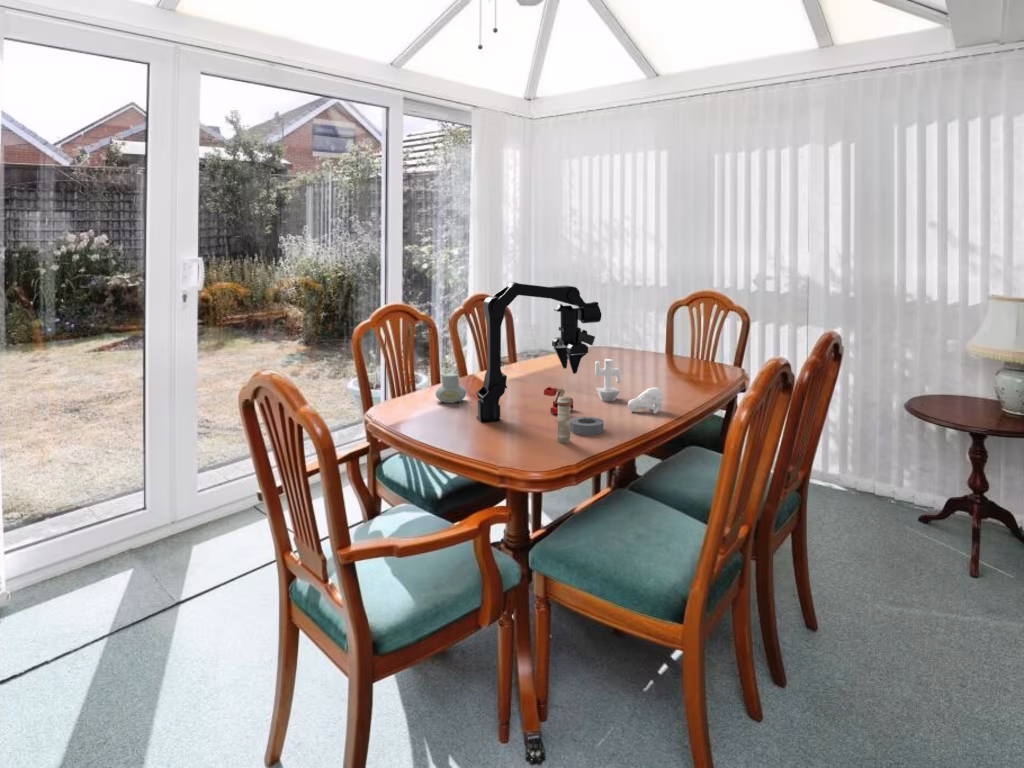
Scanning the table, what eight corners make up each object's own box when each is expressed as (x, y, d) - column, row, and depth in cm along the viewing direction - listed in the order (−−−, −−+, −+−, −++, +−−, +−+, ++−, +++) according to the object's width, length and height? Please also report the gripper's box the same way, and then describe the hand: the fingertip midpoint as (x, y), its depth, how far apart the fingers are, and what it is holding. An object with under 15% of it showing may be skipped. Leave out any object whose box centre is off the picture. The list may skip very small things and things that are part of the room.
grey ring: (578, 436, 191) (578, 426, 191) (565, 427, 200) (565, 418, 200) (608, 433, 194) (609, 423, 194) (594, 424, 204) (594, 415, 203)
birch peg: (560, 444, 184) (560, 400, 181) (554, 440, 188) (555, 396, 185) (572, 442, 185) (573, 398, 183) (567, 438, 189) (567, 395, 186)
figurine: (622, 401, 233) (623, 360, 230) (596, 402, 232) (597, 361, 229) (617, 396, 240) (618, 357, 237) (592, 397, 239) (593, 357, 236)
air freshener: (434, 404, 230) (433, 377, 228) (437, 398, 238) (436, 372, 236) (465, 404, 230) (464, 376, 228) (466, 398, 238) (466, 372, 236)
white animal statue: (663, 389, 214) (629, 392, 214) (664, 413, 216) (630, 416, 216) (658, 385, 220) (625, 388, 220) (660, 408, 222) (626, 412, 222)
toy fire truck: (574, 409, 222) (575, 382, 220) (551, 418, 212) (551, 389, 209) (566, 408, 224) (566, 381, 222) (543, 416, 214) (543, 388, 212)
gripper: (603, 326, 204) (603, 374, 208) (581, 319, 222) (581, 364, 225) (570, 328, 201) (571, 377, 205) (551, 321, 219) (551, 366, 222)
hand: (569, 370), depth 214 cm, fingers open, 9 cm apart
